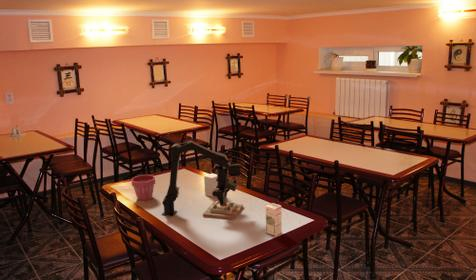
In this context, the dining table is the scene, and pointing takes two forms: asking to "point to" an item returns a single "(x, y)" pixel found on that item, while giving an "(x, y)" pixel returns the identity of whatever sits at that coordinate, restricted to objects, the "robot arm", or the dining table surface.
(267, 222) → the syrup box
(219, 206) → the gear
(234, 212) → the board
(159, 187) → the dining table surface
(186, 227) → the dining table surface
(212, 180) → the supplement box
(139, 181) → the plant pot
